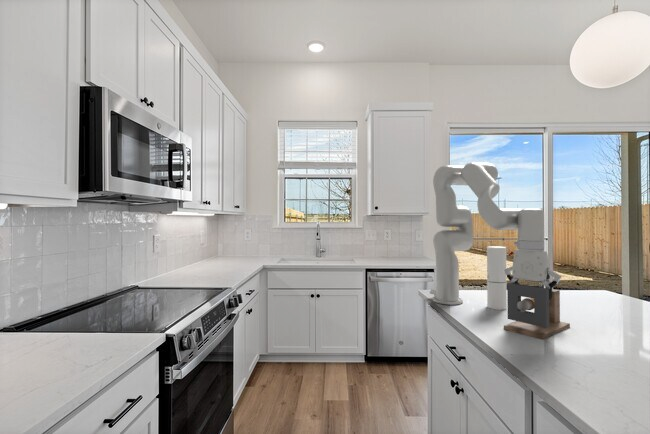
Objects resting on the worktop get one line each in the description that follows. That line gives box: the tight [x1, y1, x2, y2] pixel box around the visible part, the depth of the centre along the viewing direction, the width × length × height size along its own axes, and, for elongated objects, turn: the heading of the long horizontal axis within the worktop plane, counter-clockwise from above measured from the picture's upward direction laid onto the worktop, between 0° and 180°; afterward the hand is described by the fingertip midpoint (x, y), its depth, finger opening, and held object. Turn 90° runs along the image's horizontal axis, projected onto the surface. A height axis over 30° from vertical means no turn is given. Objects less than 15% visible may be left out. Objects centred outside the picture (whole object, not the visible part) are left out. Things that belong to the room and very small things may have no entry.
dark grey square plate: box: [506, 282, 549, 328], centre depth 113 cm, size 12×2×12 cm, turn 35°
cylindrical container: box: [486, 245, 507, 311], centre depth 143 cm, size 7×7×25 cm
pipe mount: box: [503, 286, 571, 340], centre depth 117 cm, size 12×20×12 cm, turn 125°
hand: (531, 297), depth 114 cm, fingers open, 9 cm apart
